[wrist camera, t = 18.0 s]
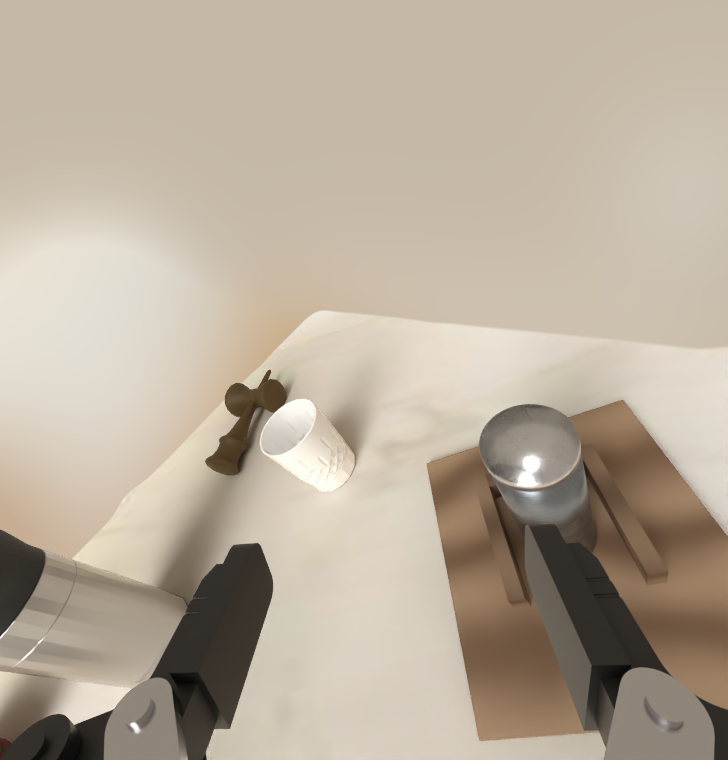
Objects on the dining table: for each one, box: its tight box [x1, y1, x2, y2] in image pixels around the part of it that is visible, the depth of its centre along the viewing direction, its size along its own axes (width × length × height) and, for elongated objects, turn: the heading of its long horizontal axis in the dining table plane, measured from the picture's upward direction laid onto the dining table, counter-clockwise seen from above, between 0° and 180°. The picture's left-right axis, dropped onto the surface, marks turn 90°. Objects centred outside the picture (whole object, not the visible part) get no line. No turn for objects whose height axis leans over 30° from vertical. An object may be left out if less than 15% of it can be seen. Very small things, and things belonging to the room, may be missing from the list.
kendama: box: [205, 370, 286, 475], centre depth 62 cm, size 6×10×20 cm
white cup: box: [260, 399, 355, 492], centre depth 45 cm, size 8×8×10 cm
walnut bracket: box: [427, 400, 728, 741], centre depth 29 cm, size 22×20×3 cm
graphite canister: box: [479, 404, 597, 553], centre depth 26 cm, size 6×6×14 cm
